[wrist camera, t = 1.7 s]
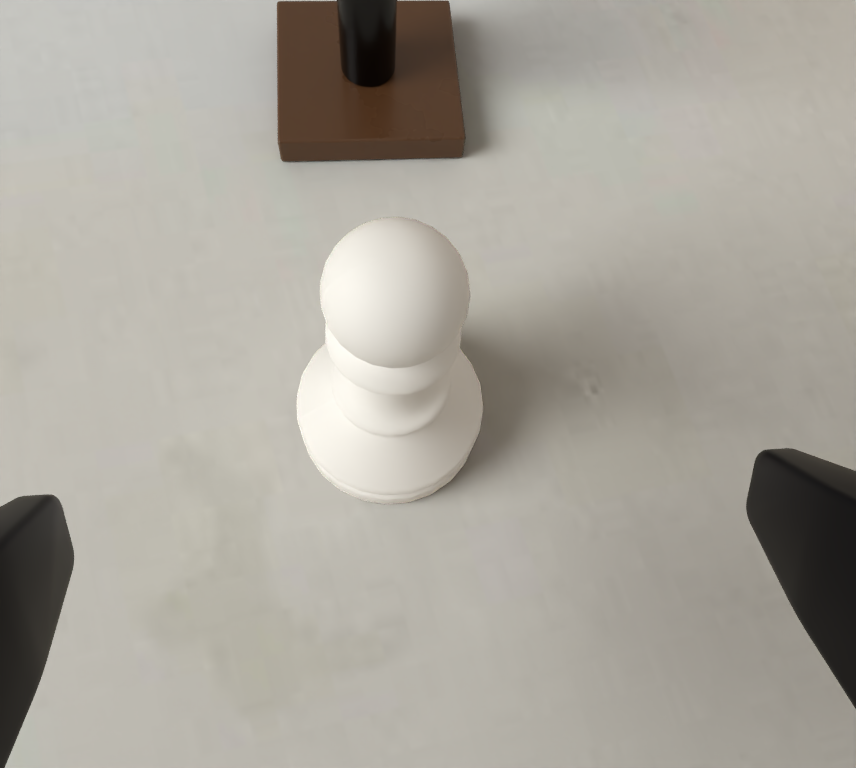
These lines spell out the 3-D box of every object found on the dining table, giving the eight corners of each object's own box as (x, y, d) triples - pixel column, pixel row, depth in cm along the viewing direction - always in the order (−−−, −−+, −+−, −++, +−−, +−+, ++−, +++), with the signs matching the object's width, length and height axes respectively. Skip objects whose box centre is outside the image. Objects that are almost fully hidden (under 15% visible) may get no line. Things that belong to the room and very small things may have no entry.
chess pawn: (454, 326, 22) (500, 119, 13) (495, 485, 20) (578, 362, 12) (288, 356, 21) (230, 158, 13) (317, 523, 20) (271, 420, 11)
